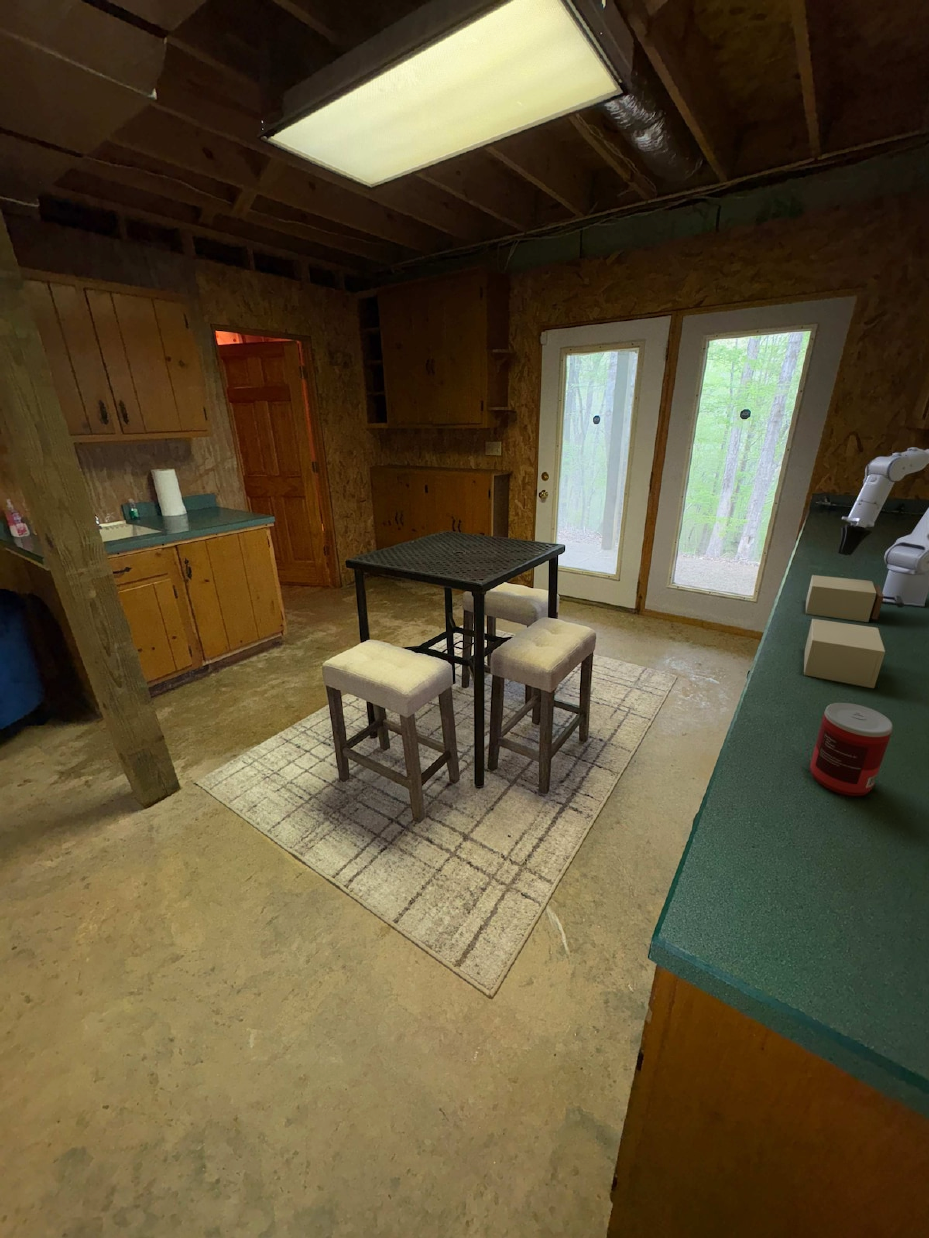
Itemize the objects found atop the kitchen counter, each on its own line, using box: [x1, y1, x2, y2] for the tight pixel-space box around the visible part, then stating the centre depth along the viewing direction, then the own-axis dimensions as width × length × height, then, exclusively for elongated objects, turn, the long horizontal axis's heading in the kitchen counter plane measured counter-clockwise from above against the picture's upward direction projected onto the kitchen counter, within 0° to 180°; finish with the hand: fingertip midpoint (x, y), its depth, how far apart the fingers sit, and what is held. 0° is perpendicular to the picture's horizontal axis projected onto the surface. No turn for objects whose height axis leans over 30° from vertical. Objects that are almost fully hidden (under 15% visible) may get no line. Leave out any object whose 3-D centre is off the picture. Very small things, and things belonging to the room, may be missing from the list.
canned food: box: [809, 702, 893, 797], centre depth 70 cm, size 8×8×11 cm
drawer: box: [870, 584, 905, 620], centre depth 130 cm, size 17×10×6 cm, turn 56°
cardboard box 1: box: [805, 574, 876, 623], centre depth 133 cm, size 14×12×8 cm
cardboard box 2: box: [803, 618, 886, 689], centre depth 103 cm, size 14×12×8 cm
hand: (843, 554), depth 129 cm, fingers open, 7 cm apart
